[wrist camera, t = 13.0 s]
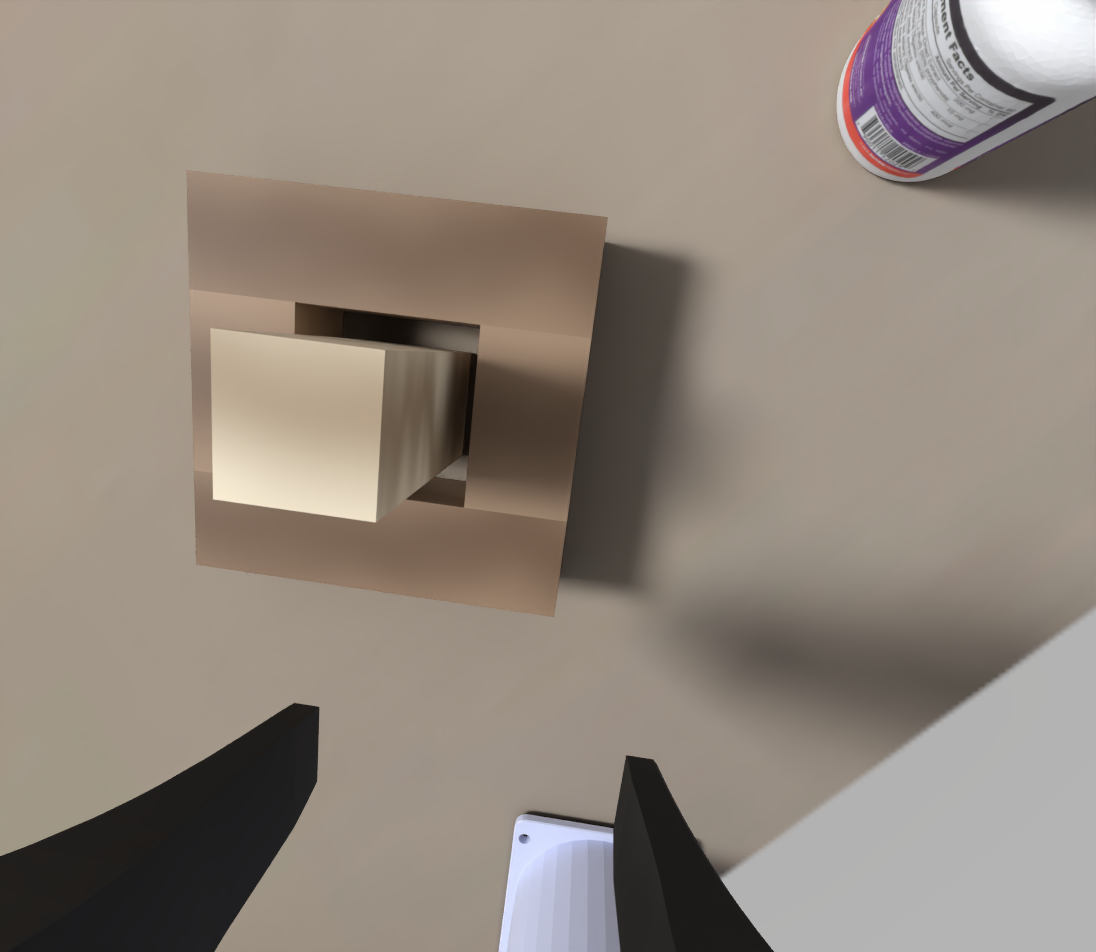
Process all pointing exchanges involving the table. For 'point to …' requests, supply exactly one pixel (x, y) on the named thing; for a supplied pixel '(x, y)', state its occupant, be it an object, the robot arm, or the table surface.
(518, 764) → the table surface
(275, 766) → the robot arm
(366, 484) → the peg
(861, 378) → the table surface
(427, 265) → the socket block
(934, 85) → the pill bottle
